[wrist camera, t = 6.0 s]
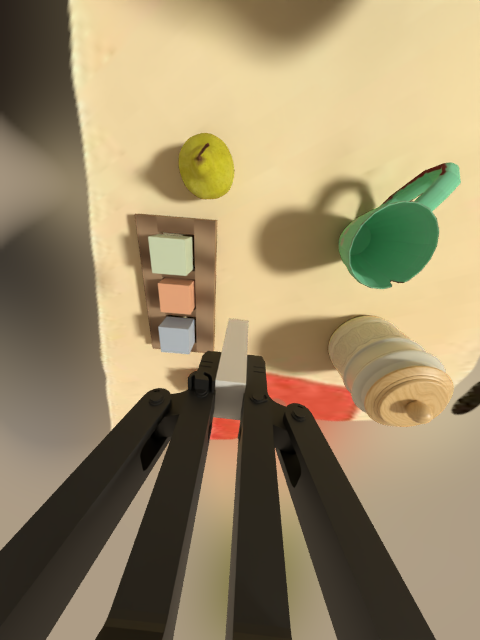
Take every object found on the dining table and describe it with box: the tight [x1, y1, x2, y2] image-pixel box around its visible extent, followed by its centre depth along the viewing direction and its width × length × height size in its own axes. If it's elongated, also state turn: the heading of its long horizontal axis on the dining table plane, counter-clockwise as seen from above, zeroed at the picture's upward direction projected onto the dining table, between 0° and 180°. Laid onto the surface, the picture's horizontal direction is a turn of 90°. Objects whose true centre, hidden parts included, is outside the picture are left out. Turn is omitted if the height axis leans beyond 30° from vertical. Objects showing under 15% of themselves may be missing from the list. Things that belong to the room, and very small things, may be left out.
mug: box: [339, 163, 461, 289], centre depth 28 cm, size 15×10×10 cm
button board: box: [135, 214, 217, 353], centre depth 38 cm, size 24×12×2 cm, turn 176°
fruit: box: [179, 133, 234, 199], centre depth 25 cm, size 7×7×12 cm
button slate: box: [158, 317, 195, 354], centre depth 38 cm, size 5×5×4 cm
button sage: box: [148, 234, 193, 276], centre depth 32 cm, size 5×5×4 cm
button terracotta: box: [158, 277, 196, 314], centre depth 36 cm, size 5×5×4 cm
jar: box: [328, 316, 454, 427], centre depth 34 cm, size 13×13×18 cm
